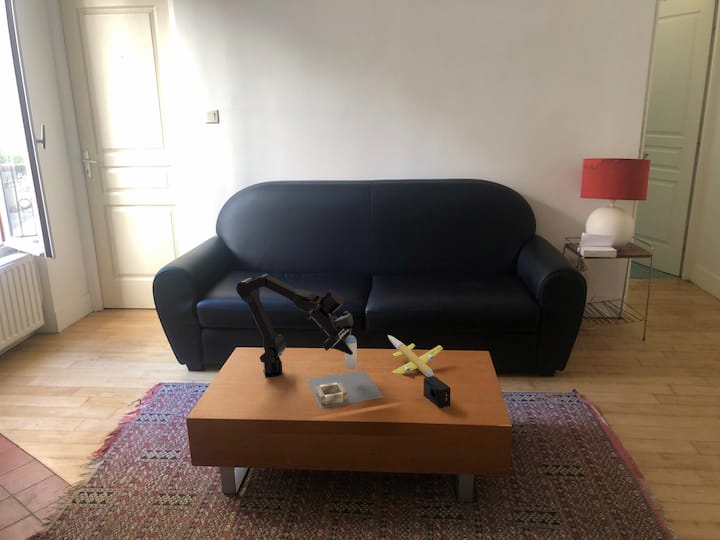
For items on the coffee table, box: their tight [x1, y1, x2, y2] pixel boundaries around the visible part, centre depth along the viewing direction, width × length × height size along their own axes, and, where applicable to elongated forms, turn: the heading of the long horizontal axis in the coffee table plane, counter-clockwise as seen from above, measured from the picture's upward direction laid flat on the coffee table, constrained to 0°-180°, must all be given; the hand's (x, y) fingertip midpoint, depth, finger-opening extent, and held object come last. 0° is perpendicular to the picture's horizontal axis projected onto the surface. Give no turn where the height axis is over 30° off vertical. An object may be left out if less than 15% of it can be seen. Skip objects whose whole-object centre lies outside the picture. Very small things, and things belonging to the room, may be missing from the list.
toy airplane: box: [387, 334, 444, 377], centre depth 215 cm, size 26×7×30 cm
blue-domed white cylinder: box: [344, 334, 358, 370], centre depth 198 cm, size 4×4×12 cm
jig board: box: [305, 370, 385, 410], centre depth 196 cm, size 23×23×1 cm
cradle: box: [316, 383, 347, 405], centre depth 189 cm, size 9×9×3 cm
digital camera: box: [423, 375, 451, 409], centre depth 187 cm, size 10×5×7 cm, turn 26°
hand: (354, 351), depth 197 cm, fingers closed on blue-domed white cylinder, 4 cm apart
